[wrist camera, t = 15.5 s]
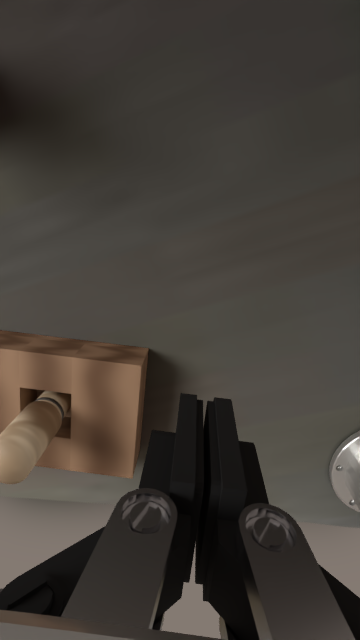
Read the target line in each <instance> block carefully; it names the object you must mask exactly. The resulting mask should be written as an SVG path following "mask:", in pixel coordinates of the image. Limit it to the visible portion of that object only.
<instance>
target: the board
mask: <svg viewBox="0 0 360 640" xmlns="http://www.w3.org/2000/svg"><path fill="white" fill-rule="evenodd" d="M148 350H149V348H142V347H134V346H125V345H117V344H109V343H101V342H92V341H84V340H76V339H68V338H59V337H51V336H43V335H35V334H26V333H18V332H10V331H2V330H0V434H1V433H2V432H3V431H4V430H5V428H6V427H7V426H8V425H9V424H10V423H11V422H12V421H13V420H14V419H15V418H16V417H17V416H18V415H19V414H20V412H21V411H22V410H23V409H24V408H25V407H26V406H27V405H28V404H30V403H32V402H34V401H35V400H36V399H37V398H38V397H39V396H40V395H41V394H42V393H43V392H44V391H53V392H61V393H69V394H71V408H70V409H69V411H68V412H67V414H66V415H65V417H64V418H63V420H62V424H61V427H60V429H59V430H58V432H57V433H56V435H55V436H54V438H53V439H52V441H51V442H50V444H49V445H48V447H47V448H46V450H45V451H44V452H43V454H42V455H41V457H40V458H39V460H38V461H37V463H36V464H35V466H41V467H49V468H56V469H64V470H71V471H79V472H87V473H94V474H102V475H110V476H117V477H125V478H133V474H134V470H135V467H136V463H137V459H138V455H139V451H140V442H141V431H142V419H143V408H144V396H145V385H146V373H147V361H148Z"/></svg>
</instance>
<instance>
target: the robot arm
mask: <svg viewBox="0 0 360 640" xmlns="http://www.w3.org/2000/svg"><path fill="white" fill-rule="evenodd" d="M329 477H330V482H331V484H332V487H333V489H334V491H335V493H336V494H337V496H338V497H339V498H340V500H341V501H342V502H343V503H344V504H346V505H347V506H348V507H350V508H352V509H354V510H356V511H358V512H360V431H358V432H356V433H354V434H353V435H351V436H350V437H348V438H347V439H346V440H345V441H343V442H342V444H341V445H340V446H339V447H338V448H337V450H336V451H335V453H334V455H333V456H332V459H331V462H330V467H329ZM195 542H196V563H195V566H196V567H195V570H196V571H195V582H196V584H203V601H208V602H209V603H210V604H211V605H212V606H213V608H214V609H215V610H216V611H217V612H218V613H219V615H220V617H219V630H220V635H221V639H217V638H210V637H202V636H196V635H188V634H181V633H174V632H167V631H161V630H162V626H163V621H164V614H165V611H167V609H169V608H170V607H171V606H172V605H173V604H174V603H176V602H177V601H178V600H179V599H180V598H181V596H182V589H183V582H189V580H190V574H191V567H192V561H193V554H194V548H195ZM0 640H360V598H359V597H358V596H356V595H355V594H354V593H353V592H351V591H350V590H349V589H348V588H347V587H346V586H344V585H343V584H342V583H341V582H339V581H338V580H337V579H336V578H335V577H333V576H332V575H331V574H330V573H329V572H327V571H326V570H325V569H324V568H322V567H321V566H320V565H319V564H318V563H317V561H316V559H315V557H314V554H313V552H312V550H311V548H310V546H309V544H308V542H307V540H306V538H305V536H304V534H303V532H302V530H301V528H300V527H299V525H298V524H297V522H296V521H295V520H294V519H293V518H292V517H291V516H290V515H289V514H288V513H287V512H285V511H283V510H282V509H280V508H278V507H276V506H273V505H270V504H269V502H268V498H267V494H266V489H265V485H264V481H263V477H262V473H261V469H260V465H259V461H258V457H257V453H256V449H255V445H254V443H250V442H243V441H238V435H237V429H236V423H235V418H234V412H233V406H232V401H231V399H223V398H214V401H213V402H212V401H208V402H207V407H206V414H205V421H204V428H203V400H197V395H191V394H183V393H181V395H180V403H179V412H178V420H177V428H176V433H172V432H164V431H156V430H152V433H151V437H150V442H149V446H148V450H147V455H146V459H145V463H144V468H143V472H142V476H141V481H140V485H139V489H135V490H133V491H130V492H128V493H127V494H125V495H124V496H123V497H121V499H120V500H119V501H118V503H117V504H116V506H115V508H114V510H113V512H112V514H111V516H110V518H109V520H108V522H107V524H106V526H105V527H103V528H101V529H100V530H98V531H96V532H94V533H93V534H91V535H89V536H87V537H86V538H84V539H82V540H81V541H79V542H77V543H76V544H74V545H72V546H70V547H69V548H67V549H65V550H63V551H62V552H60V553H58V554H57V555H55V556H53V557H51V558H49V559H48V560H46V561H44V562H43V563H41V564H40V565H37V566H36V567H34V568H32V569H31V570H29V571H27V572H25V573H24V574H22V575H21V576H18V577H17V578H16V579H14V580H13V581H12V582H10V583H9V584H8V585H6V587H5V588H4V589H0Z"/></svg>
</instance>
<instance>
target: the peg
mask: <svg viewBox="0 0 360 640" xmlns="http://www.w3.org/2000/svg"><path fill="white" fill-rule="evenodd" d="M70 408H71V394H69V393H61V392H53V391H44V392H43V393H42V394H41V395H40V396H39V397H38V398H37V399H36V400H35V401H34V402H32V403H30V404H28V405H27V406H26V407H25V408H24V409H23V410H22V411H21V412H20V414H19V415H18V416H17V417H16V418H15V419H14V420H13V421H12V422H11V423H10V424H9V425H8V426H7V427H6V428H5V430H4V431H3V432H2V433H1V434H0V482H1V483H5V484H16V483H19V482H21V481H23V480H24V479H26V477H27V476H28V475H29V473H30V472H31V470H32V469H33V467H34V466H35V464H36V463H37V461H38V460H39V458H40V457H41V455H42V454H43V452H44V451H45V450H46V448H47V447H48V445H49V444H50V442H51V441H52V439H53V438H54V436H55V435H56V433H57V432H58V430H59V429H60V427H61V424H62V420H63V418H64V417H65V415H66V414H67V412H68V411H69V409H70Z"/></svg>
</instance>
